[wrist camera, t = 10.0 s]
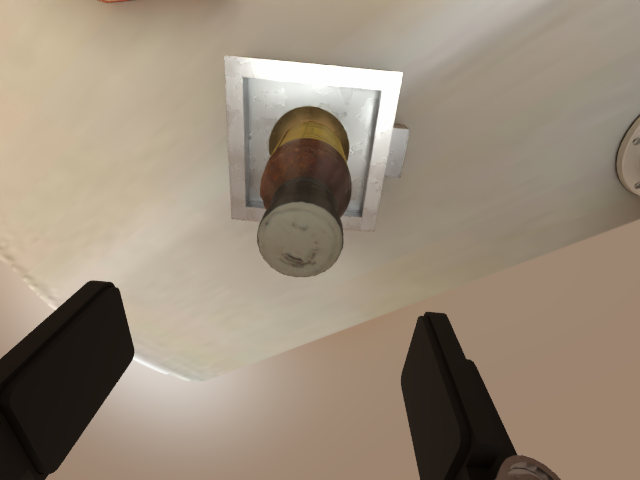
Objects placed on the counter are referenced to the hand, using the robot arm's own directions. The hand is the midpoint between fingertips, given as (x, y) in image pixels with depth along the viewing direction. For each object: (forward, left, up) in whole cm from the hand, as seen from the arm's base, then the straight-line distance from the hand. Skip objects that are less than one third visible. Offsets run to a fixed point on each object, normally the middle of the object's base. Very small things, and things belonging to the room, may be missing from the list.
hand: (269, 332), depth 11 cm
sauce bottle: (0, 0, -26) cm, 26 cm away
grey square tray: (-1, 0, -31) cm, 32 cm away
